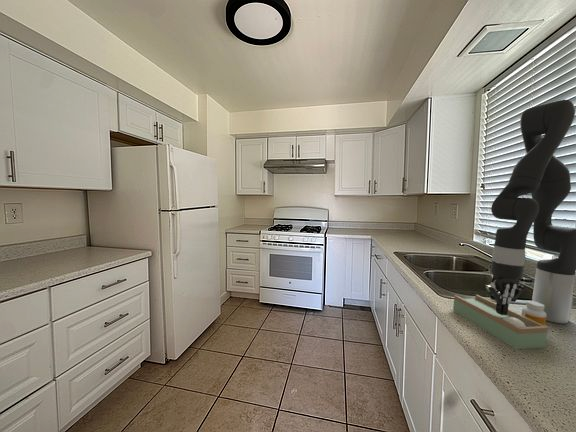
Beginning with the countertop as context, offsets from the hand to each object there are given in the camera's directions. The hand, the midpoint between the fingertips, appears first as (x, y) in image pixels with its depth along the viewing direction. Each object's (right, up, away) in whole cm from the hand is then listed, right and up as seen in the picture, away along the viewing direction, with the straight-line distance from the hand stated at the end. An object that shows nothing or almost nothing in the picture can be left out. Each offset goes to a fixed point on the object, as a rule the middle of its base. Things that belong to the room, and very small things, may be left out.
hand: (501, 313), depth 76 cm
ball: (0, -3, -4) cm, 5 cm away
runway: (0, -5, +3) cm, 6 cm away
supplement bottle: (+9, -6, 0) cm, 11 cm away
